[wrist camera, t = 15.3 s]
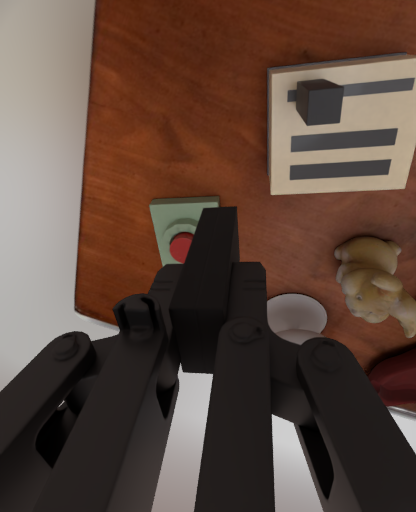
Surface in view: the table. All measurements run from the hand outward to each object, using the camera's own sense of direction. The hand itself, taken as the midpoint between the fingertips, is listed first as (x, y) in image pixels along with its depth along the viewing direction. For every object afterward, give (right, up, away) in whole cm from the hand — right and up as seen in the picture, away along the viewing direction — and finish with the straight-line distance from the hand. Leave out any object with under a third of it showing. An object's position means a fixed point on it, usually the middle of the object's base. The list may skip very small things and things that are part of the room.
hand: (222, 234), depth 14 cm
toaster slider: (+9, +14, +15) cm, 22 cm away
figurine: (+22, 0, +33) cm, 39 cm away
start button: (-4, +1, +31) cm, 32 cm away
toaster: (+14, +15, +23) cm, 31 cm away
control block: (-3, +3, +34) cm, 35 cm away
